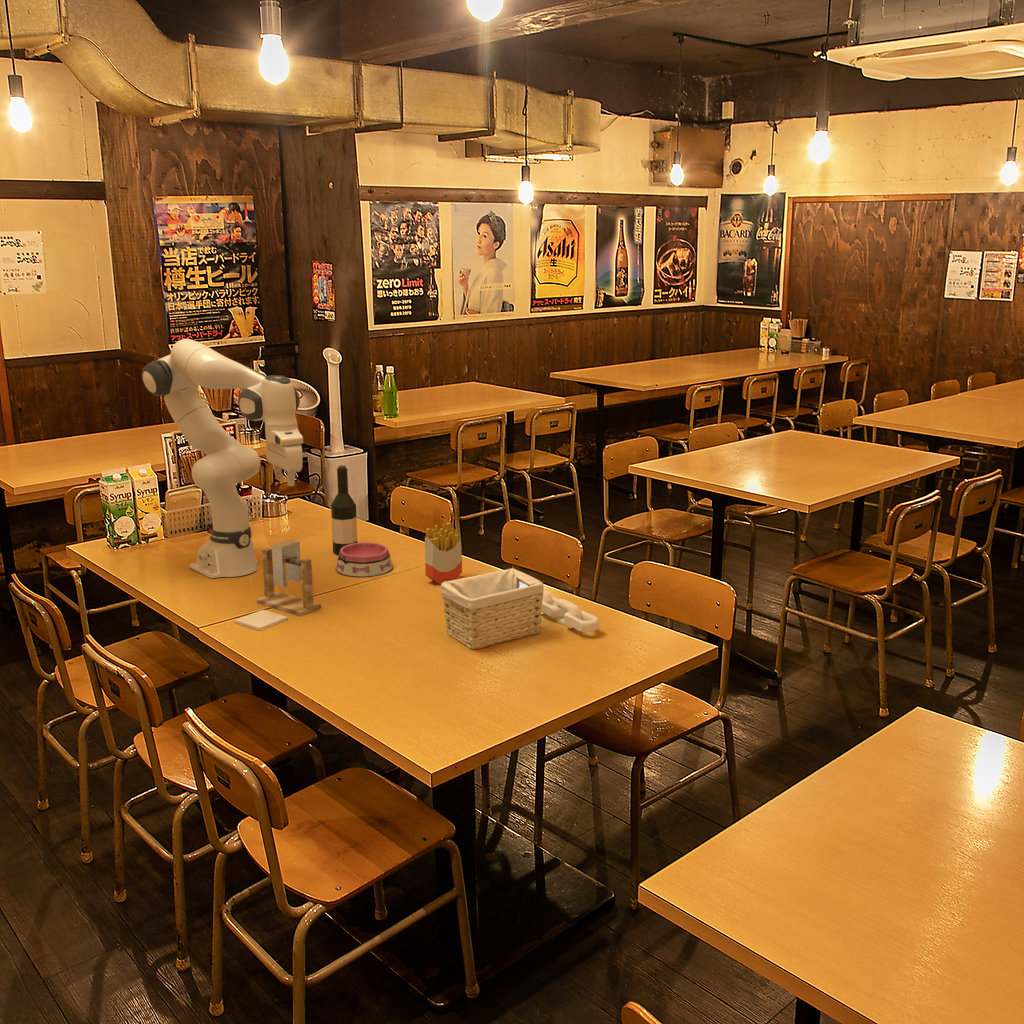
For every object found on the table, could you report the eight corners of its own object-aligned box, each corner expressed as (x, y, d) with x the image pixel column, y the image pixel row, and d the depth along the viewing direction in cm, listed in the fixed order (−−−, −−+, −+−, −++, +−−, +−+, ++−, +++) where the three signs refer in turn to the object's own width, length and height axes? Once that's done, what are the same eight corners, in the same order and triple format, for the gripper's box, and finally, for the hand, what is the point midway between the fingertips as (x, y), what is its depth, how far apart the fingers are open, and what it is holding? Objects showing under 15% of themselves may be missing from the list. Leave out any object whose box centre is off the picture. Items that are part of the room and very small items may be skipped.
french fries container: (462, 579, 302) (462, 524, 297) (433, 586, 296) (432, 530, 291) (454, 576, 305) (454, 521, 301) (425, 582, 299) (424, 526, 294)
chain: (519, 606, 280) (519, 586, 278) (536, 602, 283) (536, 582, 282) (584, 640, 256) (585, 618, 254) (602, 635, 259) (603, 613, 258)
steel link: (273, 584, 275) (271, 544, 272) (291, 578, 281) (289, 539, 278) (283, 587, 273) (281, 547, 270) (301, 581, 279) (299, 541, 276)
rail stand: (257, 603, 280) (253, 552, 276) (278, 595, 287) (275, 545, 283) (300, 616, 271) (297, 563, 267) (321, 608, 277) (319, 556, 273)
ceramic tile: (234, 622, 266) (234, 620, 265) (262, 612, 273) (262, 609, 273) (259, 630, 260) (259, 628, 260) (287, 619, 268) (287, 617, 268)
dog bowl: (403, 571, 310) (403, 551, 308) (350, 582, 300) (349, 561, 298) (377, 557, 325) (377, 537, 323) (326, 566, 315) (325, 546, 313)
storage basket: (469, 653, 247) (469, 599, 243) (438, 633, 260) (438, 581, 256) (546, 634, 259) (547, 582, 255) (513, 616, 272) (513, 566, 269)
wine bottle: (327, 552, 329) (324, 466, 321) (347, 547, 334) (344, 462, 327) (343, 557, 323) (339, 470, 315) (362, 552, 329) (359, 466, 321)
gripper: (258, 430, 277) (262, 477, 280) (283, 440, 260) (286, 490, 264) (280, 428, 280) (283, 474, 284) (305, 438, 263) (308, 487, 267)
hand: (285, 482), depth 273 cm, fingers open, 8 cm apart
